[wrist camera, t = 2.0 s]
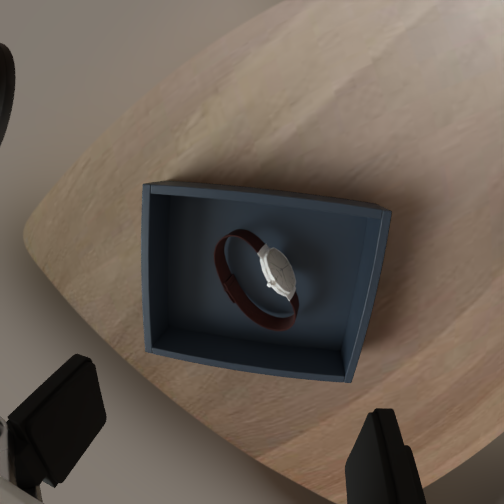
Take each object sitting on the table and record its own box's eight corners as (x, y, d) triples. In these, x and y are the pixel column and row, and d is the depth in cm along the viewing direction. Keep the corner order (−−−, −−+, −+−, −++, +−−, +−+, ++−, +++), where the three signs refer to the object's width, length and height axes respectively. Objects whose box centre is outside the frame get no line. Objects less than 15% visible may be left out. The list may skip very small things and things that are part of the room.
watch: (315, 301, 23) (318, 324, 20) (262, 330, 24) (256, 355, 21) (257, 212, 22) (249, 220, 19) (203, 247, 23) (187, 262, 20)
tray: (163, 328, 26) (145, 352, 22) (165, 180, 23) (142, 183, 19) (345, 354, 24) (351, 383, 21) (376, 203, 21) (392, 211, 17)
